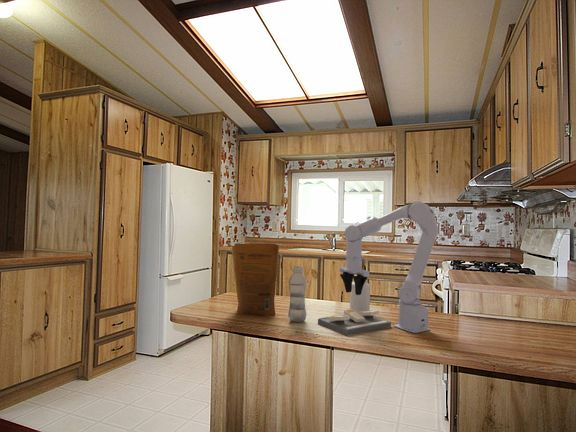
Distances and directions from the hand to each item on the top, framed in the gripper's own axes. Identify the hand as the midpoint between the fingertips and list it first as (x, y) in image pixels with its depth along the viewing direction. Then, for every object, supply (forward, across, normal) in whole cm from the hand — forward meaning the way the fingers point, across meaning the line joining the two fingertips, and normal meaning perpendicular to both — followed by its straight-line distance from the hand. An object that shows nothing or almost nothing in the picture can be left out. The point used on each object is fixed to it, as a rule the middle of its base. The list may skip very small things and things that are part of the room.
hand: (353, 293), depth 140 cm
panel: (+10, +6, -5) cm, 13 cm away
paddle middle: (+6, +6, -5) cm, 10 cm away
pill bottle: (+10, -7, +10) cm, 16 cm away
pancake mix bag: (+10, -26, -28) cm, 40 cm away
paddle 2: (+6, +6, +2) cm, 9 cm away
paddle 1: (+6, +6, -12) cm, 15 cm away
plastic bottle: (+10, -8, -20) cm, 24 cm away
